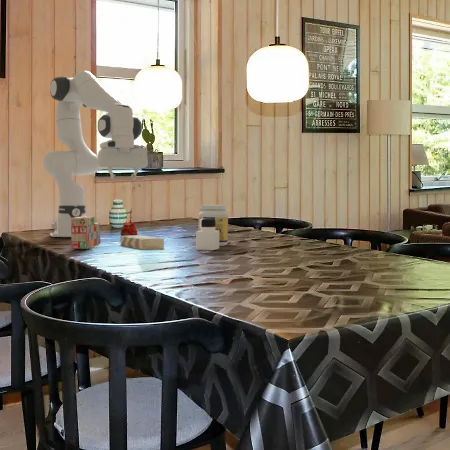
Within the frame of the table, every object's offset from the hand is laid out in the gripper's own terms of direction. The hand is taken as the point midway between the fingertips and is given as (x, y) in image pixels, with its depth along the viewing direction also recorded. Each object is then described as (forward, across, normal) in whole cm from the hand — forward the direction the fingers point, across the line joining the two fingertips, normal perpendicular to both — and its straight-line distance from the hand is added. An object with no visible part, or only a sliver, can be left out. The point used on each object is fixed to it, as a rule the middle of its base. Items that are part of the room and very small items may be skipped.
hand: (123, 178), depth 261 cm
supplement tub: (+28, -34, +12) cm, 46 cm away
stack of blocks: (+27, +12, -10) cm, 32 cm away
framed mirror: (+27, -6, +3) cm, 28 cm away
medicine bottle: (+28, -24, +26) cm, 45 cm away
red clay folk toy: (+27, -10, -20) cm, 35 cm away
